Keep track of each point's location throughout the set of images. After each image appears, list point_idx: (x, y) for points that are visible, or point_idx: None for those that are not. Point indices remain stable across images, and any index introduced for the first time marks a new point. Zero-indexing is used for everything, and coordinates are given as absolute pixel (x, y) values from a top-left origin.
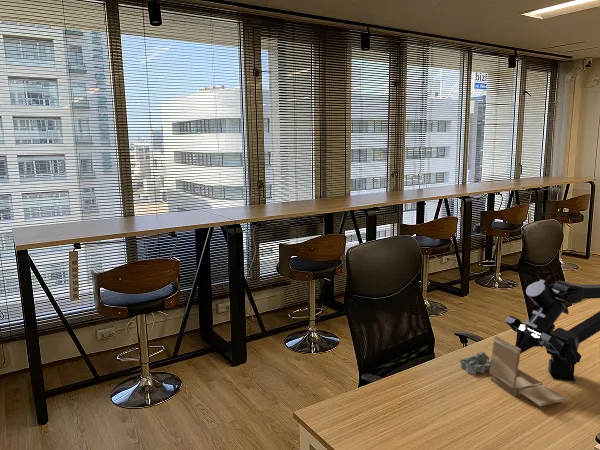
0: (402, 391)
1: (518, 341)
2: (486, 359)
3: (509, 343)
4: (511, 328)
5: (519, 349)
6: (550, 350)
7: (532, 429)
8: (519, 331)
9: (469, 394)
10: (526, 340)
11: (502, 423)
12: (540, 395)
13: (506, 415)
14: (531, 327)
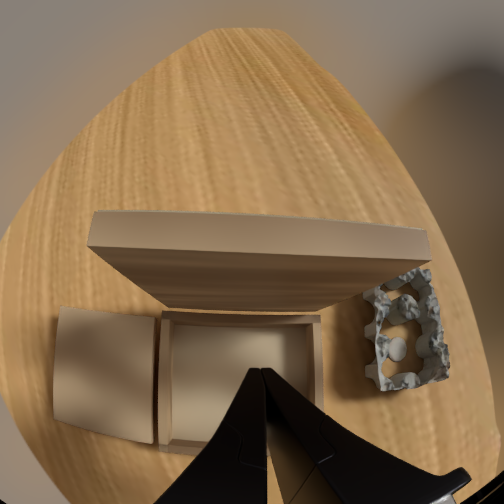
0: (309, 100)
1: (297, 425)
2: (424, 382)
3: (246, 239)
4: (494, 478)
5: (92, 230)
6: None
7: (48, 226)
8: (394, 493)
9: (248, 193)
10: (188, 466)
11: (99, 181)
12: (90, 355)
13: None
14: None
